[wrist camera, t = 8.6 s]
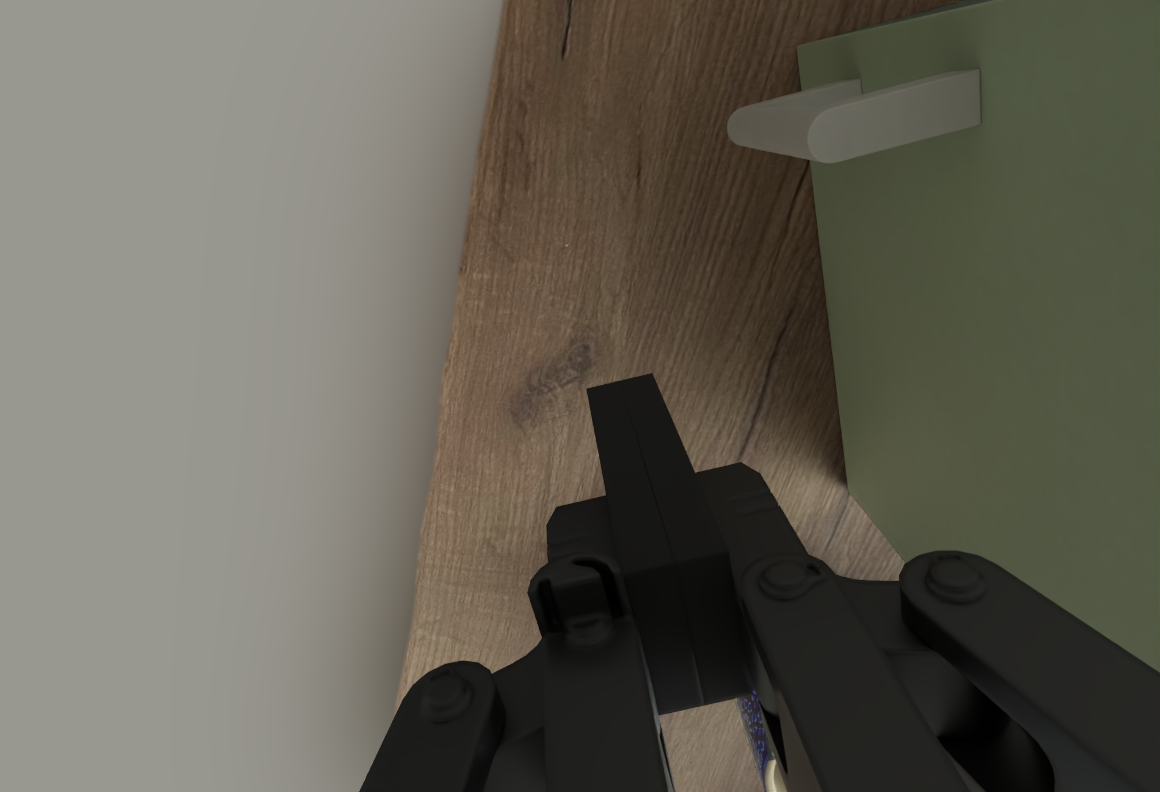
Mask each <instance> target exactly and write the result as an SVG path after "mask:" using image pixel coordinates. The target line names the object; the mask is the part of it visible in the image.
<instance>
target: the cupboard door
mask: <svg viewBox="0 0 1160 792" xmlns="http://www.w3.org/2000/svg"><path fill="white" fill-rule="evenodd" d="M797 56H798V64H799V73H800V81H801V90H802V91H800V92H796V93H793V94H789V95H785V96H782V97H778V98H774V99H770V100H767V101H763V102H759V103H755V104H752V105H748V106H744V107H741V108H739V109H737V110H736V111H734V112H733V113H732V115H731V116H730V118H729V120H728V124H727V132H728V136H729V138H730V139H731V140H732V142H734V143H735V144H737V145H740V146H744V147H749V148H754V149H759V150H764V151H769V152H773V153H778V154H783V155H788V156H793V157H798V158H803V159H807V160H810V167H811V176H812V184H813V193H814V201H815V210H816V219H817V227H818V236H819V244H820V253H821V261H822V270H823V279H824V287H825V296H826V304H827V313H828V321H829V330H830V339H831V347H832V356H833V364H834V373H835V381H836V390H837V399H838V407H839V416H840V424H841V433H842V441H843V450H844V459H845V467H846V476H847V484H848V491H849V493H850V494H851V495H852V497H853V498H854V499H855V500H856V502H857V503H858V504H859V505H860V507H861V508H862V509H863V510H864V512H865V513H866V514H867V515H868V517H869V518H870V519H871V520H872V522H873V523H874V524H875V525H876V527H877V528H878V529H879V530H880V532H881V533H882V534H883V535H884V537H885V538H886V539H887V540H888V542H889V543H890V544H891V545H892V547H893V548H894V549H895V550H896V552H897V553H898V554H899V555H900V557H901V558H902V559H903V560H904V562H905V563H907V562H909V561H910V560H912V559H913V558H915V557H916V556H918V555H921V554H925V553H928V552H932V551H953V550H957V551H962V552H966V553H971V554H975V555H979V556H981V557H983V558H985V559H987V560H989V561H991V562H994V563H996V564H997V565H999V566H1000V567H1002V568H1003V569H1005V570H1006V571H1008V572H1009V573H1011V574H1012V575H1014V576H1015V577H1017V578H1018V579H1020V580H1021V581H1023V582H1024V583H1026V584H1027V585H1029V586H1030V587H1032V588H1033V589H1035V590H1036V591H1038V592H1039V593H1041V594H1042V595H1044V596H1045V597H1047V598H1048V599H1050V600H1051V601H1053V602H1054V603H1056V604H1057V605H1059V606H1060V607H1062V608H1063V609H1065V610H1066V611H1068V612H1069V613H1071V614H1072V615H1074V616H1075V617H1077V618H1078V619H1080V620H1081V621H1083V622H1084V623H1086V624H1087V625H1089V626H1090V627H1092V628H1093V629H1095V630H1096V631H1098V632H1099V633H1101V634H1102V635H1104V636H1105V637H1107V638H1108V639H1110V640H1111V641H1113V642H1114V643H1116V644H1118V645H1119V646H1121V647H1122V648H1124V649H1125V650H1127V651H1128V652H1130V653H1131V654H1133V655H1134V656H1136V657H1137V658H1139V659H1140V660H1142V661H1143V662H1145V663H1146V664H1148V665H1149V666H1151V667H1152V668H1154V669H1155V670H1157V671H1158V672H1160V0H992V1H988V2H983V3H979V4H974V5H970V6H966V7H961V8H957V9H953V10H948V11H944V12H939V13H935V14H931V15H926V16H922V17H918V18H913V19H909V20H905V21H900V22H896V23H891V24H887V25H883V26H878V27H874V28H870V29H865V30H861V31H856V32H852V33H848V34H843V35H839V36H835V37H830V38H826V39H821V40H817V41H813V42H809V43H806V44H802V45H798V46H797Z"/></svg>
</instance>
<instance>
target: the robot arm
mask: <svg viewBox="0 0 1160 792" xmlns="http://www.w3.org/2000/svg"><path fill="white" fill-rule="evenodd" d="M587 395H588V400H589V405H590V411H591V416H592V421H593V427H594V432H595V437H596V443H597V448H598V453H599V459H600V464H601V469H602V474H603V480H604V485H605V490H606V496H602V497H597V498H593V499H589V500H584V501H580V502H576V503H571V504H567V505H563V506H558V507H556V509H555V511H554V512H553V514H552V516H551V518H550V519H549V521H548V523H547V525H546V529H547V545H548V547H547V556H548V563H547V564H546V565H544V566H543V567H541V568H540V569H539V571H538V572H537V573H536V574H535V575H534V577H533V578H532V579H531V581H530V585H529V588H528V592H527V593H528V596H529V599H530V602H531V605H532V608H533V611H534V615H535V618H536V621H537V624H538V627H539V630H540V633H541V636H542V639H541V641H540V642H539V643H538V645H537V646H536V647H535V648H534V649H533V650H531V651H530V652H529V653H528V654H527V655H526V656H524V657H522V658H521V659H519V660H517V661H516V662H514V663H512V664H510V665H508V666H506V667H504V668H502V669H500V670H498V671H496V672H494V673H492V674H491V672H490V670H489V669H487V668H486V667H484V666H483V665H481V664H480V663H478V662H470V661H458V662H453V663H447V664H444V665H442V666H440V667H438V668H436V669H434V670H432V671H430V672H428V673H427V674H425V675H424V676H423V677H422V678H421V679H419V680H418V681H417V682H416V683H415V684H413V686H412V687H411V688H410V690H409V691H408V693H407V694H406V696H405V697H404V699H403V700H402V702H401V704H400V706H399V709H398V711H397V713H396V715H395V717H394V719H393V721H392V723H391V726H390V728H389V730H388V732H387V734H386V736H385V738H384V740H383V742H382V745H381V747H380V749H379V751H378V753H377V755H376V757H375V759H374V762H373V764H372V766H371V768H370V770H369V772H368V774H367V776H366V779H365V781H364V783H363V785H362V787H361V789H360V791H359V792H676V791H675V787H674V782H673V777H672V772H671V768H670V763H669V758H668V753H667V749H666V744H665V740H664V736H663V732H662V728H661V725H660V720H659V715H663V714H668V713H672V712H677V711H681V710H686V709H690V708H695V707H699V706H704V705H709V704H713V703H718V702H722V701H727V700H731V699H736V698H740V697H745V696H749V695H753V689H752V683H753V685H754V688H755V691H756V693H757V696H758V699H759V705H760V711H761V717H762V723H763V728H764V734H765V740H766V746H767V752H768V758H769V761H772V760H776V762H777V765H778V768H779V771H780V773H781V776H782V779H783V782H784V784H785V787H786V790H787V792H1160V672H1158V671H1157V670H1155V669H1154V668H1152V667H1151V666H1149V665H1148V664H1146V663H1145V662H1143V661H1142V660H1140V659H1139V658H1137V657H1136V656H1134V655H1133V654H1131V653H1130V652H1128V651H1127V650H1125V649H1124V648H1122V647H1121V646H1119V645H1118V644H1116V643H1114V642H1113V641H1111V640H1110V639H1108V638H1107V637H1105V636H1104V635H1102V634H1101V633H1099V632H1098V631H1096V630H1095V629H1093V628H1092V627H1090V626H1089V625H1087V624H1086V623H1084V622H1083V621H1081V620H1080V619H1078V618H1077V617H1075V616H1074V615H1072V614H1071V613H1069V612H1068V611H1066V610H1065V609H1063V608H1062V607H1060V606H1059V605H1057V604H1056V603H1054V602H1053V601H1051V600H1050V599H1048V598H1047V597H1045V596H1044V595H1042V594H1041V593H1039V592H1038V591H1036V590H1035V589H1033V588H1032V587H1030V586H1029V585H1027V584H1026V583H1024V582H1023V581H1021V580H1020V579H1018V578H1017V577H1015V576H1014V575H1012V574H1011V573H1009V572H1008V571H1006V570H1005V569H1003V568H1002V567H1000V566H999V565H997V564H996V563H994V562H991V561H989V560H987V559H985V558H983V557H981V556H979V555H975V554H971V553H966V552H962V551H957V550H953V551H932V552H928V553H925V554H921V555H918V556H916V557H915V558H913V559H912V560H910V561H909V562H907V563H906V564H905V565H904V567H903V569H902V571H901V573H900V575H899V581H867V580H855V579H850V578H846V577H841V576H838V575H835V573H834V572H833V571H832V570H831V569H830V568H829V567H828V566H827V565H826V564H825V563H824V562H823V561H822V560H819V559H817V558H815V557H813V556H811V555H809V554H808V553H807V551H806V549H805V548H804V546H803V544H802V543H801V541H800V539H799V538H798V536H797V534H796V533H795V531H794V529H793V528H792V526H791V524H790V523H789V521H788V519H787V518H786V516H785V514H784V512H783V511H782V509H781V507H780V506H778V502H777V501H776V499H775V497H774V496H773V494H772V493H771V492H770V489H769V487H768V486H767V484H766V482H765V481H764V479H763V477H762V476H761V474H760V473H758V472H757V471H755V470H753V469H752V468H750V467H748V466H746V465H745V464H743V463H741V462H740V463H735V464H731V465H727V466H723V467H718V468H714V469H710V470H705V471H701V472H697V473H695V471H694V469H693V467H692V464H691V462H690V460H689V457H688V455H687V453H686V450H685V448H684V446H683V444H682V441H681V439H680V437H679V434H678V432H677V430H676V427H675V425H674V423H673V420H672V418H671V416H670V413H669V411H668V409H667V406H666V404H665V402H664V399H663V397H662V395H661V392H660V390H659V388H658V385H657V383H656V381H655V378H654V376H653V374H652V373H651V374H646V375H642V376H638V377H634V378H629V379H625V380H621V381H617V382H613V383H608V384H604V385H600V386H596V387H591V388H587ZM750 677H751V678H750ZM751 680H752V683H751Z"/></svg>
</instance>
